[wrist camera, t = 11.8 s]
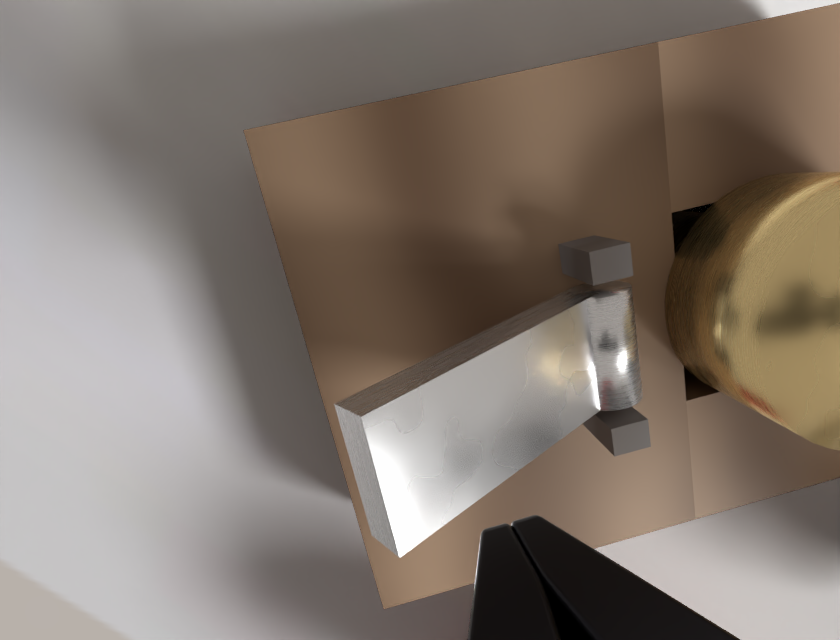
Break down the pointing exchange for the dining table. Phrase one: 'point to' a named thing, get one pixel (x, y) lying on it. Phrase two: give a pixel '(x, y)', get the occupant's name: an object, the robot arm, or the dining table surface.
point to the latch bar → (487, 409)
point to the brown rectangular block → (552, 259)
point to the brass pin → (764, 299)
